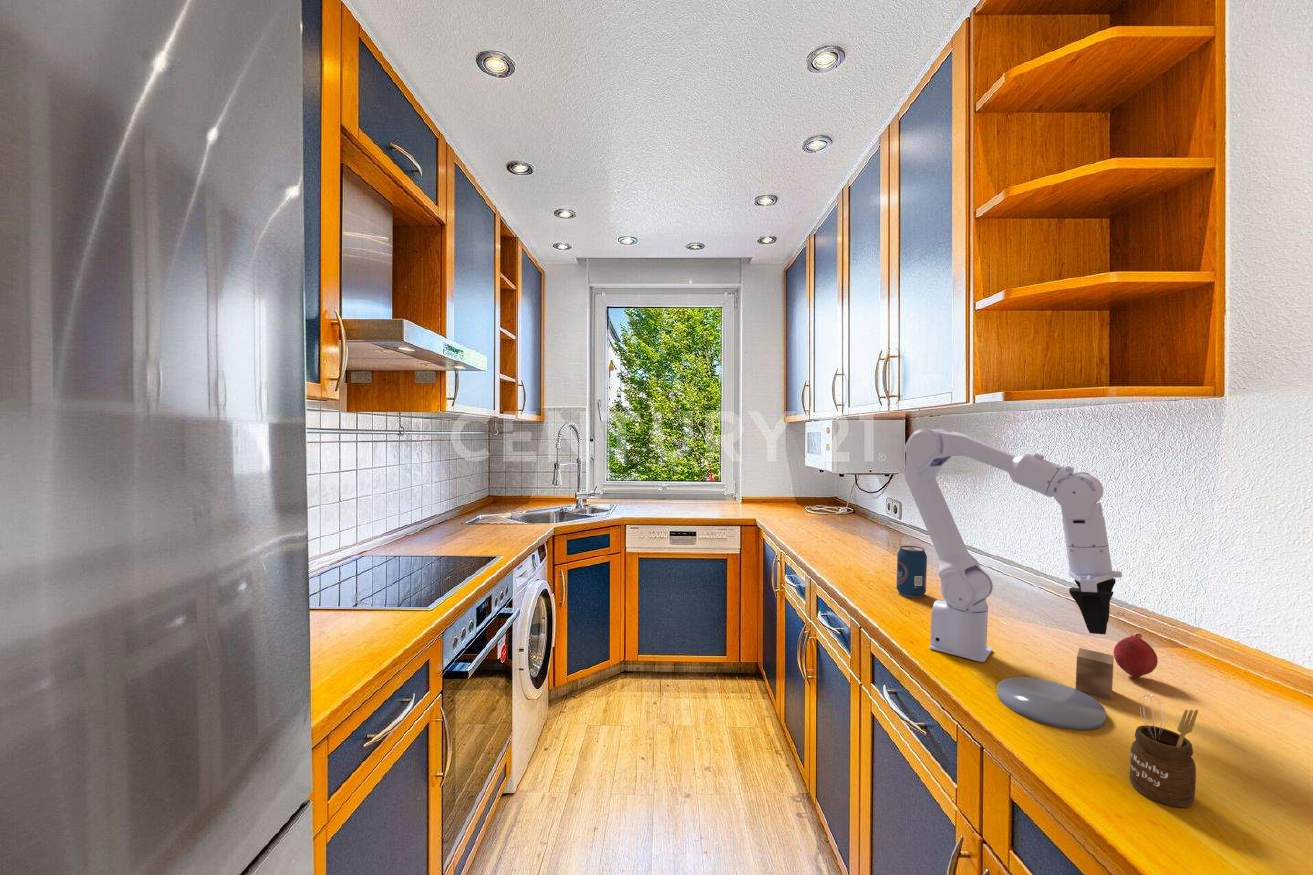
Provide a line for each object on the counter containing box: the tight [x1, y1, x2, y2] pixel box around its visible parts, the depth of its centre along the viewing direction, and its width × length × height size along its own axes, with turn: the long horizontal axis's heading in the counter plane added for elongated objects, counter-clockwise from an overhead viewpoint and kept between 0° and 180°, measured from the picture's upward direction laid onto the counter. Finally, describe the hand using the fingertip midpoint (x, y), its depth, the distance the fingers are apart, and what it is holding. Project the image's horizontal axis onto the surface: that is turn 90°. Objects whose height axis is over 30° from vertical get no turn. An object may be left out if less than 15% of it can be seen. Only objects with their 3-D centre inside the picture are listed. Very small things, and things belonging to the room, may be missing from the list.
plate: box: [996, 676, 1107, 731], centre depth 89 cm, size 14×14×1 cm
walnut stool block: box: [1075, 647, 1115, 701], centre depth 93 cm, size 5×5×6 cm
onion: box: [1113, 632, 1159, 679], centre depth 98 cm, size 6×6×8 cm
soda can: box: [896, 545, 928, 599], centre depth 144 cm, size 7×7×12 cm
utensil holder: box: [1129, 694, 1199, 808], centre depth 68 cm, size 6×6×12 cm
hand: (1099, 627), depth 93 cm, fingers open, 7 cm apart
